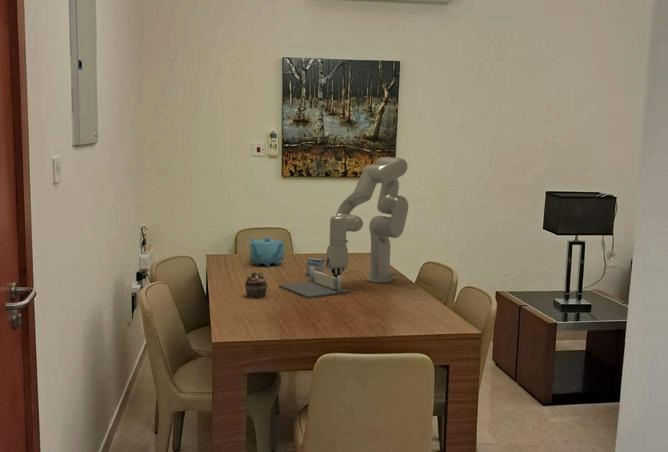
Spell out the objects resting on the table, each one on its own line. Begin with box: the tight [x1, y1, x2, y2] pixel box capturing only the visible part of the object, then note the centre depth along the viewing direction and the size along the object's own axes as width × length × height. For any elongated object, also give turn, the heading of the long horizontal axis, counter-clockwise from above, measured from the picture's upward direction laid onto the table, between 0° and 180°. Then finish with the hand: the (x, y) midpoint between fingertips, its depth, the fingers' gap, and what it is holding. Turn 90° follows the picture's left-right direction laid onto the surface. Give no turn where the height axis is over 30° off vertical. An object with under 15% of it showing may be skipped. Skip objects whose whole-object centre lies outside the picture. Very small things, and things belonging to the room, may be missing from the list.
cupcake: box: [245, 272, 268, 299], centre depth 276 cm, size 10×10×10 cm
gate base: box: [278, 267, 351, 300], centre depth 290 cm, size 22×25×8 cm
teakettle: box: [249, 237, 286, 268], centre depth 346 cm, size 19×19×15 cm
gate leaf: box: [313, 271, 337, 290], centre depth 293 cm, size 2×19×5 cm, turn 34°
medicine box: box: [306, 257, 325, 277], centre depth 320 cm, size 8×4×9 cm, turn 68°
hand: (336, 282), depth 294 cm, fingers closed
